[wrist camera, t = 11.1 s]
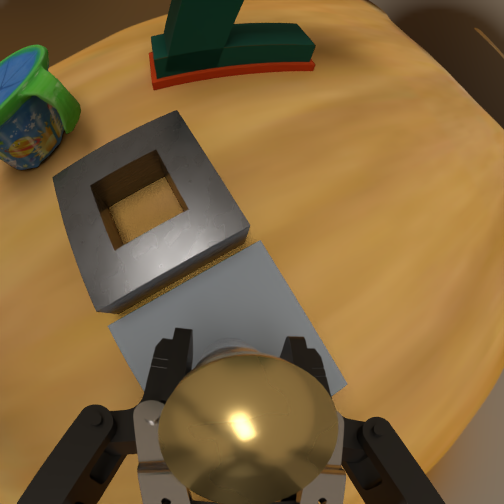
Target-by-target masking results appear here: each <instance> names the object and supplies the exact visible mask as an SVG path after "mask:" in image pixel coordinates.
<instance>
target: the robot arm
mask: <svg viewBox="0 0 504 504" xmlns="http://www.w3.org/2000/svg"><path fill="white" fill-rule="evenodd" d="M280 358H282V359H284V360H286V361H288V362H290V363H292V364H294V365H296V366H298V367H299V368H301V369H303V370H305V371H307V372H308V373H309V374H311V375H312V376H313V377H315V378H316V379H317V380H318V381H319V382H320V383H321V384H322V385H323V387H324V388H325V389H326V391H327V392H328V393H329V395H330V397H331V393H330V389H329V385H328V381H327V377H326V373H325V369H324V365H323V361H322V358H321V356H320V355H319V353H318V352H317V351H316V349H315V348H307V344H306V340H305V338H304V337H301V336H287V337H286V339H285V343H284V346H283V349H282V352H281V355H280ZM192 363H193V330H192V329H185V328H175V331H174V335H173V339H166V338H162V339H161V341H160V342H159V343H158V344H157V345H156V346H155V350H154V354H153V359H152V362H151V367H150V370H149V374H148V378H147V382H146V387H145V391H144V395H143V398H142V400H141V402H140V403H139V404H138V405H137V406H135V407H134V408H131V409H128V410H120V411H109V410H108V409H107V408H105V407H103V406H101V405H89V406H87V407H85V408H84V409H83V410H82V411H81V413H80V414H79V415H78V417H77V418H76V419H75V421H74V422H73V423H72V425H71V426H70V428H69V429H68V430H67V432H66V433H65V434H64V436H63V437H62V438H61V440H60V441H59V443H58V444H57V445H56V447H55V448H54V450H53V451H52V452H51V454H50V455H49V457H48V458H47V459H46V461H45V462H44V464H43V465H42V467H41V468H40V469H39V471H38V472H37V474H36V475H35V477H34V478H33V480H32V481H31V483H30V484H29V486H28V487H27V489H26V490H25V492H24V493H23V495H22V496H21V498H20V499H19V501H18V502H17V504H97V503H98V501H99V500H100V498H101V496H102V495H103V493H104V491H105V490H106V488H107V487H108V485H109V483H110V482H111V480H112V478H113V477H114V475H115V474H116V472H117V470H118V469H119V467H120V465H121V464H122V462H123V460H124V459H125V457H126V456H127V454H138V460H139V465H138V468H137V472H138V480H139V485H140V490H141V495H142V500H143V504H219V503H215V502H204V501H193V499H192V496H191V492H190V489H189V488H187V487H186V486H185V485H183V484H182V483H181V482H180V481H179V480H178V479H177V478H176V477H175V476H174V474H173V473H172V472H171V471H170V469H169V468H168V466H167V464H166V462H165V461H164V458H163V456H162V453H161V450H160V446H159V441H158V427H159V420H160V416H161V413H162V410H163V408H164V406H165V404H166V402H167V400H168V399H169V397H170V396H171V394H172V393H173V391H174V390H175V388H176V387H177V385H178V384H179V382H180V381H181V380H182V379H183V378H184V377H185V375H186V374H188V373H189V372H190V371H191V370H192ZM331 399H332V397H331ZM336 412H337V417H338V437H337V442H336V446H335V449H334V452H333V454H332V456H331V458H330V460H329V462H328V463H327V465H326V467H325V468H324V469H323V470H322V472H321V473H320V474H319V475H318V476H317V477H316V478H315V479H314V480H313V481H312V482H311V483H310V484H308V485H307V486H306V487H305V488H303V489H302V490H300V491H298V492H297V493H295V494H293V495H291V496H289V497H287V498H284V499H282V500H279V501H277V502H272V503H268V504H318V501H319V502H320V504H343V499H344V491H345V482H346V473H347V475H348V476H349V478H350V480H351V481H352V483H353V484H354V486H355V488H356V489H357V491H358V493H359V494H360V496H361V497H362V499H363V501H364V502H365V504H445V502H444V501H443V499H442V498H441V497H440V495H439V494H438V492H437V491H436V489H435V488H434V486H433V485H432V483H431V482H430V480H429V479H428V478H427V476H426V475H425V473H424V472H423V470H422V469H421V467H420V466H419V465H418V463H417V462H416V460H415V459H414V457H413V456H412V455H411V453H410V452H409V450H408V449H407V447H406V446H405V445H404V443H403V442H402V440H401V439H400V437H399V436H398V435H397V433H396V432H395V430H394V429H393V428H392V426H391V425H390V423H389V422H388V421H387V420H385V419H383V418H381V417H372V418H370V419H368V420H367V421H366V422H362V421H357V420H351V419H347V418H345V417H343V416H341V414H340V413H339V412H338V411H336ZM341 465H342V466H343V468H344V469H342V467H341ZM345 471H346V473H345Z"/></svg>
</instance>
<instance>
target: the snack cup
mask: <svg viewBox="0 0 504 504" xmlns="http://www.w3.org/2000/svg"><path fill="white" fill-rule="evenodd" d="M48 68H49V58H48V50H47V49H46V48H45V47H43V46H41V45H31V46H28V47H25V48H22V49H20V50H18V51H16V52H15V53H13V54H11V55H10V56H8V57H7V58H5V59H4V60H2V61H1V62H0V159H1V160H3V161H4V162H6V163H7V164H9V165H10V166H13V167H14V168H16V169H18V170H26V169H29V168H36V167H38V166H39V164H40V163H41V162H42V161H43V160H44V159H45V158H47V157H48V156H49V155H50V154H51V153H52V152H53V150H54V149H55V148H56V147H57V146H58V145H59V144H60V142H61V140H62V134H63V131H64V130H65V131H66V133H67V134H68V133H70V132H72V131H73V129H74V128H75V125H76V124H77V122H78V120H79V117H80V113H81V108H80V104H79V103H78V102H77V100H76V99H75V98H74V97H73V96H72V95H71V94H70V93H69V91H68V90H67V89H66V88H65V87H64V86H63V85H62V83H61V82H60V81H59V80H58V79H57V78H55V76H53V75H52V74H51V73H50V72H48Z"/></svg>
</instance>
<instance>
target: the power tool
mask: <svg viewBox="0 0 504 504" xmlns="http://www.w3.org/2000/svg"><path fill="white" fill-rule="evenodd" d="M243 1H244V0H172V1H171V4H170V9H169V12H168V17H167V21H166V25H165V30H164V34H160V35H156V36H151V42H152V51H153V52H150V53H149V59H150V68H151V77H152V85H153V89H154V90H157V89H161V88H166V87H170V86H174V85H179V84H184V83H189V82H194V81H200V80H206V79H212V78H219V77H226V76H234V75H243V74H253V73H265V72H283V71H313V70H314V67H315V63H314V62H313V61H312V59H311V57H312V54H313V51H314V49H315V46H316V45H315V44H314V43H313V42H312V41H311V39H310V38H309V37H308V36H307V35H306V34H305V32H304V31H303V30H302V29H301V28H300V27H299V26H298V25H297V24H293V23H245V24H234V22H235V19H236V17H237V15H238V13H239V10H240V8H241V6H242V4H243Z"/></svg>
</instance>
